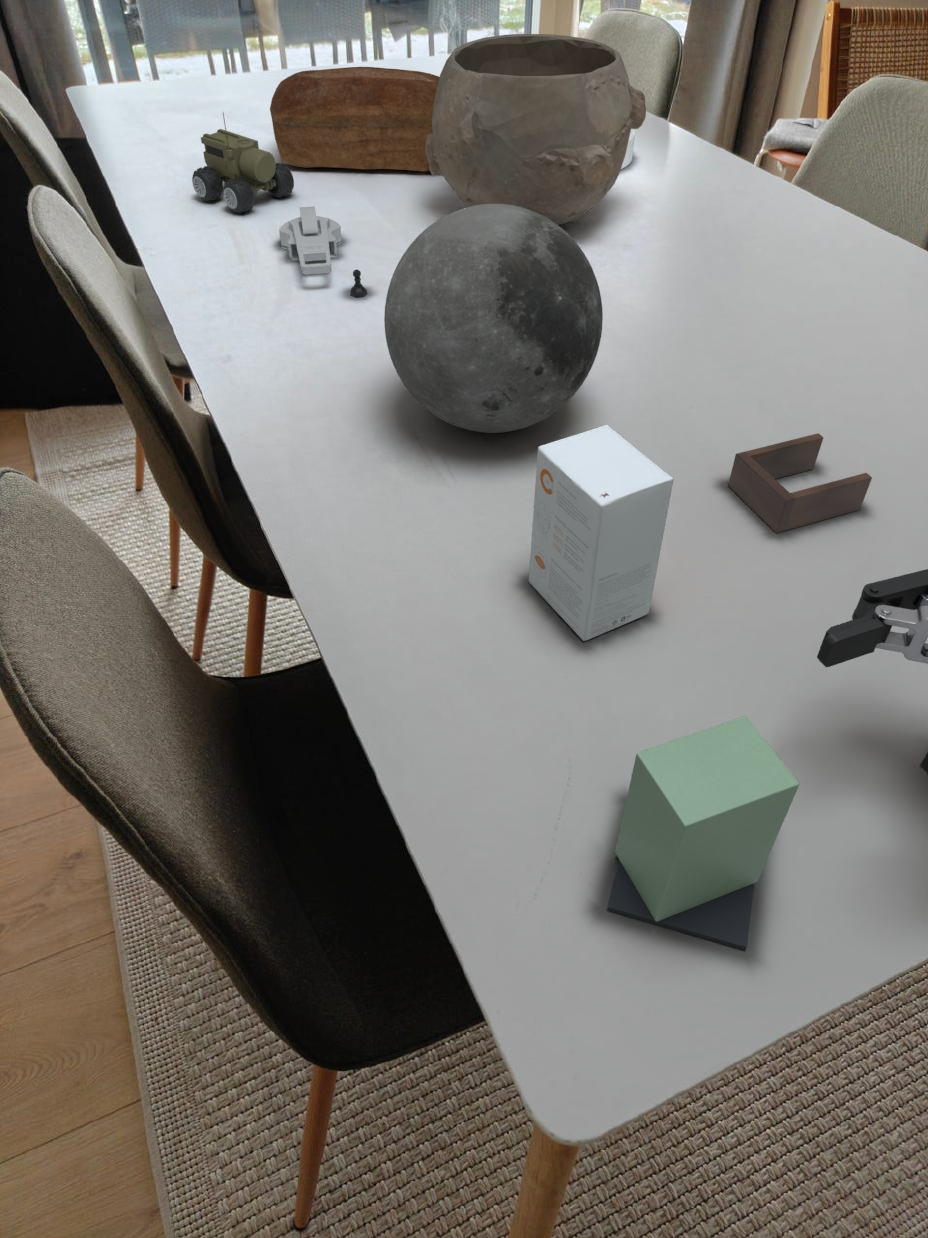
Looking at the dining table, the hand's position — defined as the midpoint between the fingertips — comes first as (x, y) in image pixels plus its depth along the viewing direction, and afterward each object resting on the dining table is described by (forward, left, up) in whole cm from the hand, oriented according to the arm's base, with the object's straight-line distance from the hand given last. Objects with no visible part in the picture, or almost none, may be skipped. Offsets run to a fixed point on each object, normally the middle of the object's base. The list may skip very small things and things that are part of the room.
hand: (873, 703), depth 51 cm
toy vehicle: (+83, -83, -12) cm, 118 cm away
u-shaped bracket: (+3, -35, -12) cm, 37 cm away
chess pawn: (+56, -60, -12) cm, 83 cm away
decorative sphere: (+33, -39, -12) cm, 53 cm away
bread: (+72, -103, -12) cm, 126 cm away
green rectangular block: (+7, +6, -11) cm, 15 cm away
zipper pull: (+65, -67, -12) cm, 94 cm away
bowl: (+43, -89, -12) cm, 100 cm away
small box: (+18, -16, -12) cm, 27 cm away
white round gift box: (+43, -114, -12) cm, 122 cm away
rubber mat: (+7, +6, -12) cm, 15 cm away
